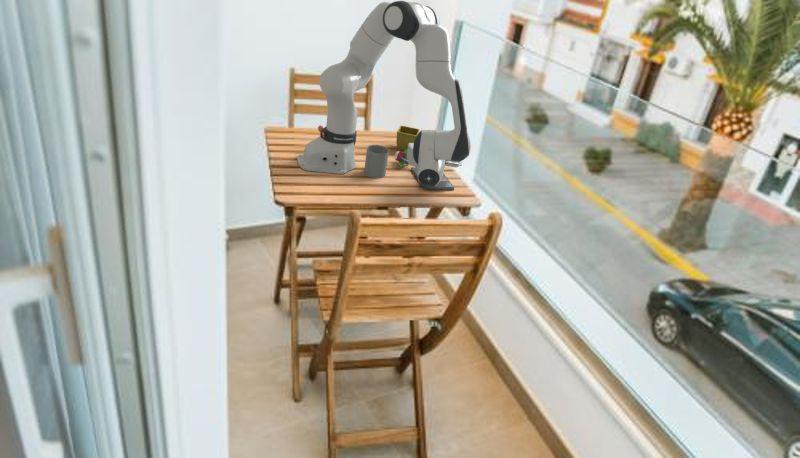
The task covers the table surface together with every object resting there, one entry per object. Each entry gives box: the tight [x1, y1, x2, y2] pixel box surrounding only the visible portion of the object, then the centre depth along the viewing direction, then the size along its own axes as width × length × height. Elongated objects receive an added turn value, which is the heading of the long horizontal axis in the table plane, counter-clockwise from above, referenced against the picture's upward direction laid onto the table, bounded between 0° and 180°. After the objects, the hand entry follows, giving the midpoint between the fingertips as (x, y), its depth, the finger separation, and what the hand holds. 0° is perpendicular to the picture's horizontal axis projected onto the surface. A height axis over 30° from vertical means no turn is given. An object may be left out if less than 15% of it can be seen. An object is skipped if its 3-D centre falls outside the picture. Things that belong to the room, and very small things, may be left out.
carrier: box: [410, 166, 455, 191], centre depth 202 cm, size 12×17×4 cm
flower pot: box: [396, 125, 421, 152], centre depth 223 cm, size 9×9×9 cm
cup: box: [363, 144, 390, 179], centre depth 197 cm, size 8×8×10 cm
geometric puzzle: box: [394, 149, 409, 168], centre depth 209 cm, size 7×7×8 cm
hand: (436, 147), depth 194 cm, fingers closed on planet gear, 4 cm apart
